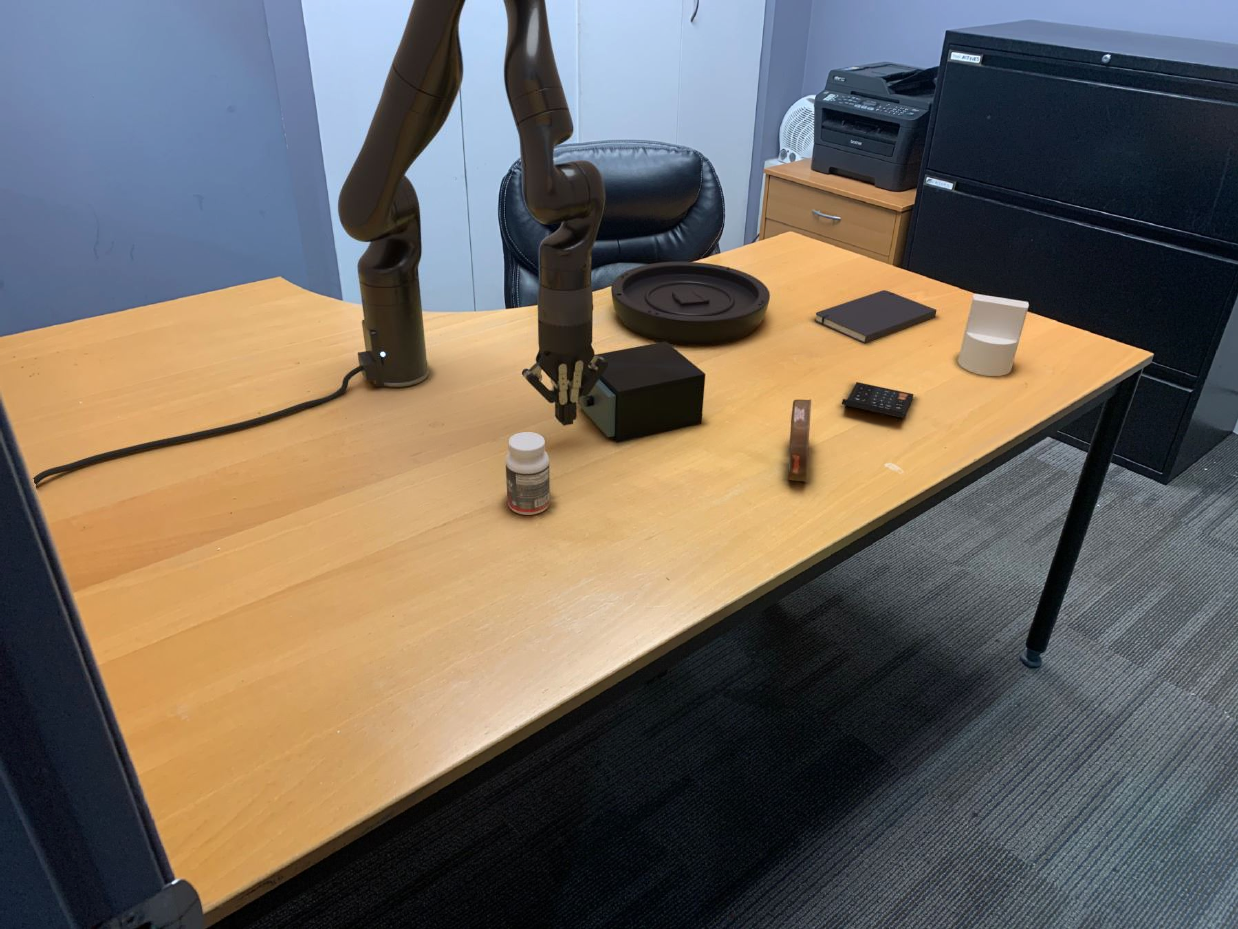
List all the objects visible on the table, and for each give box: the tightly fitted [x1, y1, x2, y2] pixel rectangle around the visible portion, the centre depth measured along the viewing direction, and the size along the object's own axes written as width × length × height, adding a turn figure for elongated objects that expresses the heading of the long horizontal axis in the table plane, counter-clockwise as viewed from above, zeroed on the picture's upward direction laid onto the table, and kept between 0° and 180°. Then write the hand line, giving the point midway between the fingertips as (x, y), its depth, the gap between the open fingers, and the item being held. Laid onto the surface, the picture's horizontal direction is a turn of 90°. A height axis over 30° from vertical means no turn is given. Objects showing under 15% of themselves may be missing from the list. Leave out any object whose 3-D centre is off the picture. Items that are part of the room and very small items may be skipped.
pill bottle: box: [505, 431, 551, 516], centre depth 122 cm, size 6×6×10 cm
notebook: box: [814, 289, 938, 344], centre depth 180 cm, size 13×2×21 cm
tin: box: [787, 398, 812, 483], centre depth 132 cm, size 15×3×8 cm, turn 168°
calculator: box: [841, 381, 914, 419], centre depth 149 cm, size 9×12×3 cm
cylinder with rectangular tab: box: [957, 293, 1030, 377], centre depth 161 cm, size 9×9×12 cm
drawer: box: [577, 378, 616, 438], centre depth 143 cm, size 15×11×7 cm
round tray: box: [610, 261, 771, 346], centre depth 178 cm, size 30×6×30 cm
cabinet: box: [595, 341, 706, 444], centre depth 144 cm, size 15×13×9 cm
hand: (565, 422), depth 136 cm, fingers closed
